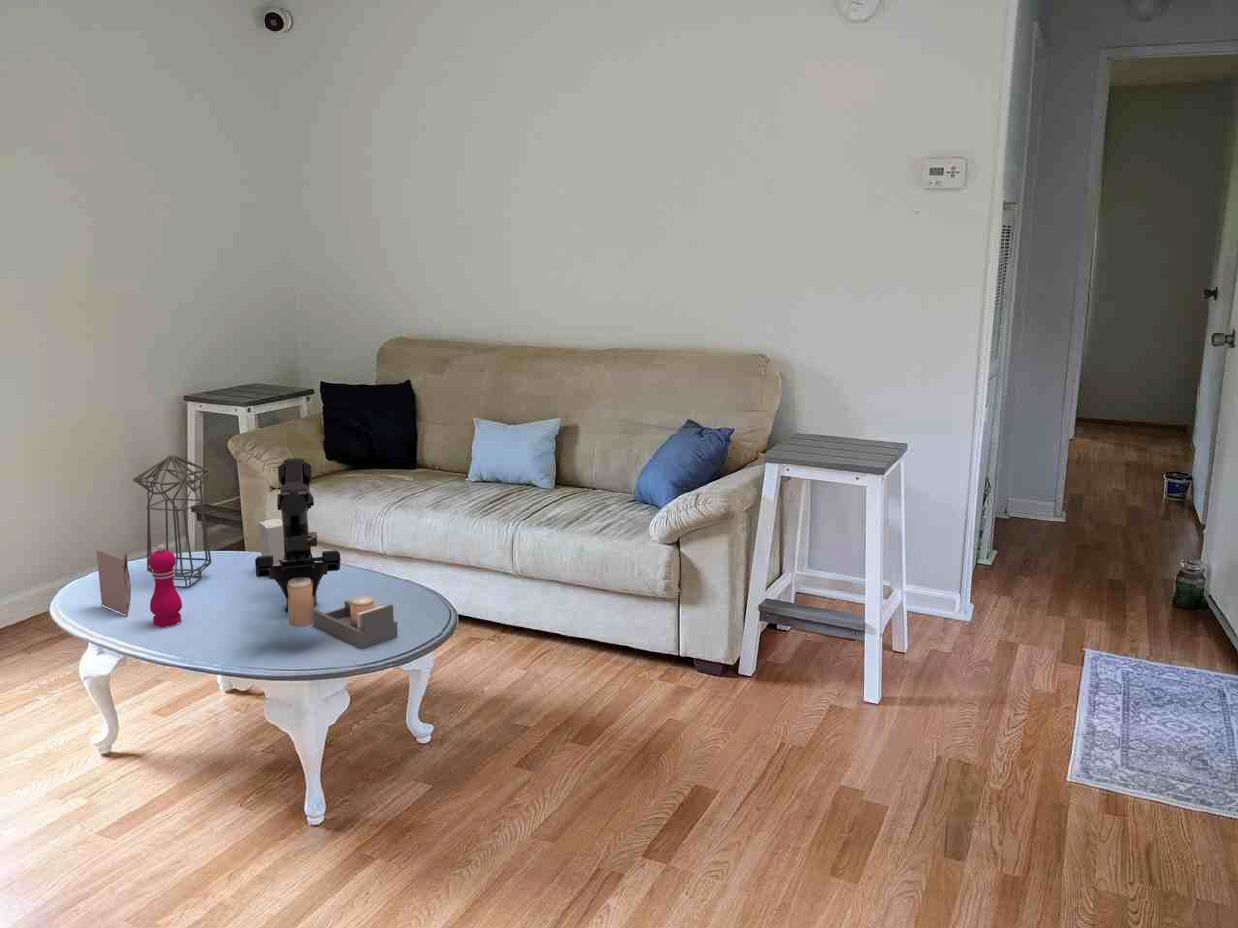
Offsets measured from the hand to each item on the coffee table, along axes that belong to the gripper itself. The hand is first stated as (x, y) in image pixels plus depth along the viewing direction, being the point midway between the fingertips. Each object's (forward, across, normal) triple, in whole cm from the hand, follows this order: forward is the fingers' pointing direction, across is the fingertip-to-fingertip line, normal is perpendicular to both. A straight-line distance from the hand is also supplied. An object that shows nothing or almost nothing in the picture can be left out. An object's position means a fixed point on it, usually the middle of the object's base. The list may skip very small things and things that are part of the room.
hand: (300, 597), depth 241 cm
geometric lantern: (-30, -29, +50) cm, 66 cm away
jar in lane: (+6, +14, +12) cm, 19 cm away
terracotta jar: (+4, 0, +6) cm, 7 cm away
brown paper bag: (-18, -43, +37) cm, 60 cm away
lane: (+4, +12, +15) cm, 20 cm away
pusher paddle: (+8, +16, +9) cm, 20 cm away
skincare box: (-30, -5, +50) cm, 58 cm away
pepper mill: (-9, -31, +29) cm, 43 cm away
